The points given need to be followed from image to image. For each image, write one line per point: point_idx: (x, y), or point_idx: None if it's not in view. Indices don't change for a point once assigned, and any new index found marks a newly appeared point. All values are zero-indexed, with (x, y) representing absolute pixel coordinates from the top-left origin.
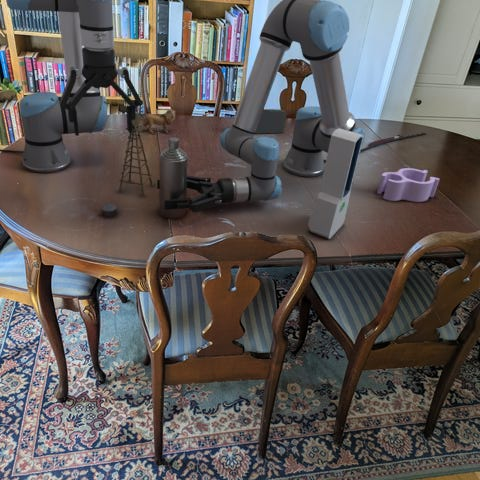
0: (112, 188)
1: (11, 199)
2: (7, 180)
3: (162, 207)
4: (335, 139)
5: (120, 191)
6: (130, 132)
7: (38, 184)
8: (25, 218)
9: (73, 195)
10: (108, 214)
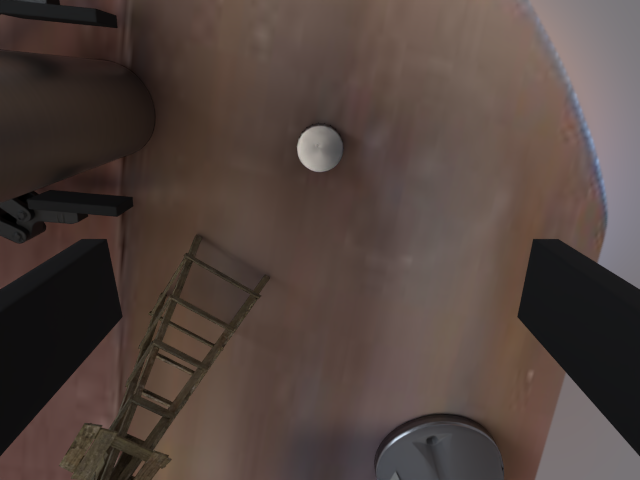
0: (285, 302)
1: None
2: (552, 393)
3: (133, 91)
4: None
5: (265, 275)
6: (93, 242)
7: (482, 360)
8: (564, 178)
9: (403, 283)
10: (326, 125)
